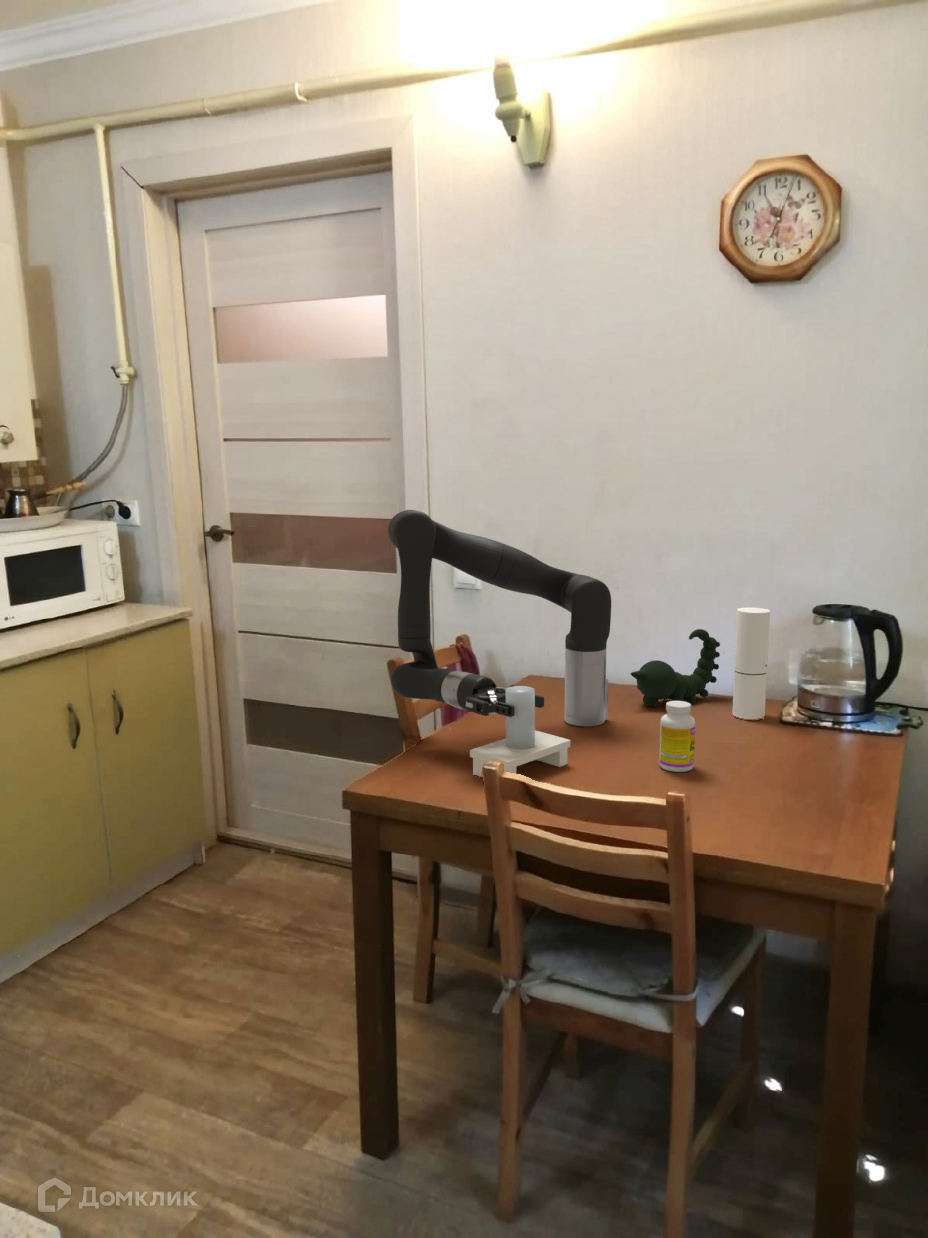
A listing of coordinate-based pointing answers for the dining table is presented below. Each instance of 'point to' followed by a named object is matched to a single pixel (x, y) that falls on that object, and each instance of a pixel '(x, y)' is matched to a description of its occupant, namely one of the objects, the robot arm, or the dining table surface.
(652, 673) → the toy figurine
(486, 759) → the white riser stand
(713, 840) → the dining table surface
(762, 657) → the cylindrical container
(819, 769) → the dining table surface
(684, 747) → the supplement bottle
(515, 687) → the white rounded cylinder
